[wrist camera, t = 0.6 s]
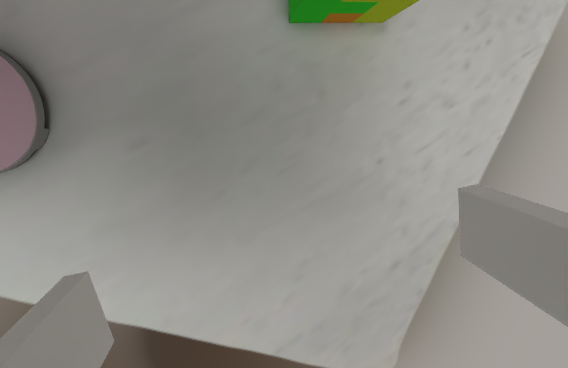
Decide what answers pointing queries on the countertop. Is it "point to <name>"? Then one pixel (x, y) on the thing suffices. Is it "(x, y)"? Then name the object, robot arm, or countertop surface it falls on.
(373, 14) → the puzzle toy
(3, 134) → the blender
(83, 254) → the countertop surface
